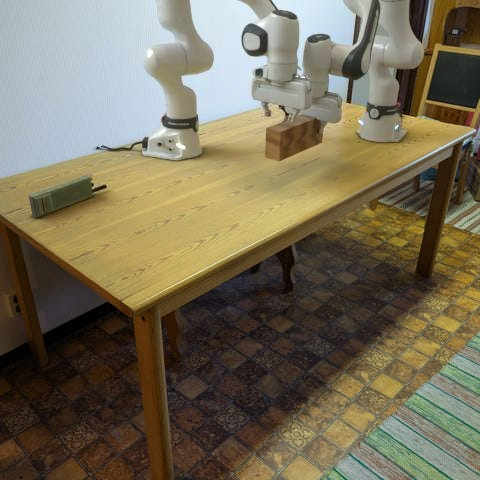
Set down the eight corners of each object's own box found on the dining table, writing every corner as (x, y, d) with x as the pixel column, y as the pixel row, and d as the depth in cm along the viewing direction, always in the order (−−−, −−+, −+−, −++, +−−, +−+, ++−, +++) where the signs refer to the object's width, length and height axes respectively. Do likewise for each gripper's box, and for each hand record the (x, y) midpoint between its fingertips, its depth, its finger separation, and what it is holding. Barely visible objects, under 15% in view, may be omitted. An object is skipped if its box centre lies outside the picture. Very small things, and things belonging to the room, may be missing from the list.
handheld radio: (30, 215, 144) (102, 188, 161) (37, 219, 142) (109, 191, 159) (26, 193, 140) (100, 168, 157) (33, 197, 138) (107, 171, 155)
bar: (279, 161, 156) (280, 131, 151) (264, 157, 159) (265, 127, 154) (322, 142, 172) (324, 114, 167) (308, 139, 175) (310, 111, 170)
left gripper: (318, 75, 143) (314, 123, 150) (261, 66, 154) (260, 111, 161) (305, 78, 139) (302, 128, 145) (248, 69, 150) (247, 115, 157)
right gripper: (347, 92, 159) (343, 135, 165) (294, 82, 170) (292, 123, 177) (337, 96, 154) (332, 140, 161) (283, 85, 166) (281, 127, 173)
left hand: (279, 119), depth 153 cm, fingers open, 8 cm apart
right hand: (311, 131), depth 169 cm, fingers closed on bar, 5 cm apart
